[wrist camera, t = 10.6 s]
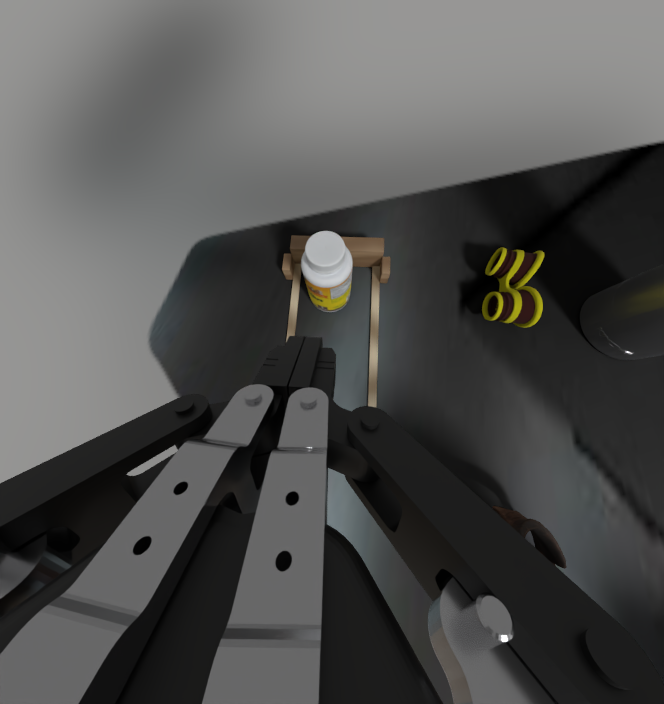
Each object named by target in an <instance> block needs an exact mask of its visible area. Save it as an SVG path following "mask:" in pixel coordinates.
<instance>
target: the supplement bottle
mask: <svg viewBox="0 0 664 704" xmlns="http://www.w3.org/2000/svg"><path fill="white" fill-rule="evenodd" d="M352 266H353V261H352V256H351V253H350V251H349V250H348V248H347V247H346V246H345V243H344V241H343V239H342V238H341V237H340V236H339V235H338V234H336V233H334V232H331V231H321V232H317V233H315V234H314V235H312V236H311V237H310V238H309V239H308V241H307V243H306V246H305V251H304V253H303V256H302V259H301V268H302V272H303V276H304V279H305V282H306V286H307V289H308V292H309V296H310V299H311V301H312V303H313V304H314V305H315V306H316V307H317V308H318V309H320V310H322V311H325V312H334V311H337V310H340V309H341V308H343V307H344V306H345V305H346V304H347V302H348V300H349V298H350V291H351V279H352Z"/></svg>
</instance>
